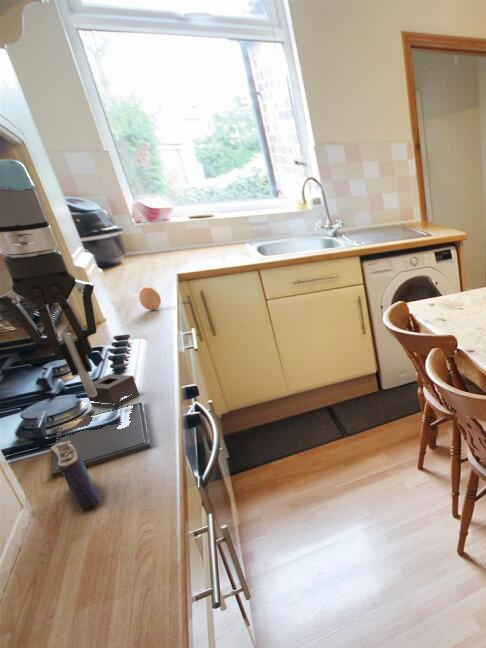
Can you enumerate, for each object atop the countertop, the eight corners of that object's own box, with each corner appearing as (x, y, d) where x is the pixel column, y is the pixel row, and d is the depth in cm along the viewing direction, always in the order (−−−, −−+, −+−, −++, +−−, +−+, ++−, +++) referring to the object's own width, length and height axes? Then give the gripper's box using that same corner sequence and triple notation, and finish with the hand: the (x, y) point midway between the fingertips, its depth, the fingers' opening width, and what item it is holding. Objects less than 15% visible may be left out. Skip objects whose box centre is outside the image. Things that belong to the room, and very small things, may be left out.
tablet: (60, 428, 96) (57, 424, 95) (143, 405, 104) (142, 401, 103) (53, 478, 81) (50, 473, 81) (151, 447, 89) (149, 442, 89)
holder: (91, 406, 103) (83, 386, 101) (117, 392, 109) (109, 374, 107) (115, 408, 103) (107, 388, 101) (139, 394, 108) (132, 375, 106)
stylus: (86, 398, 94) (58, 334, 88) (94, 395, 95) (66, 331, 89) (93, 399, 93) (65, 334, 88) (100, 395, 95) (73, 331, 89)
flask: (69, 489, 79) (43, 436, 75) (91, 480, 81) (67, 428, 77) (81, 514, 73) (54, 459, 69) (104, 504, 75) (80, 450, 71)
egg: (147, 308, 165) (139, 285, 161) (165, 306, 166) (158, 284, 163) (140, 313, 160) (132, 290, 156) (160, 311, 161) (152, 288, 158)
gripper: (-32, 263, 76) (30, 390, 85) (84, 250, 84) (129, 366, 93) (-24, 255, 81) (34, 375, 90) (85, 243, 89) (127, 354, 99)
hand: (82, 370), depth 92 cm, fingers closed on stylus, 1 cm apart
